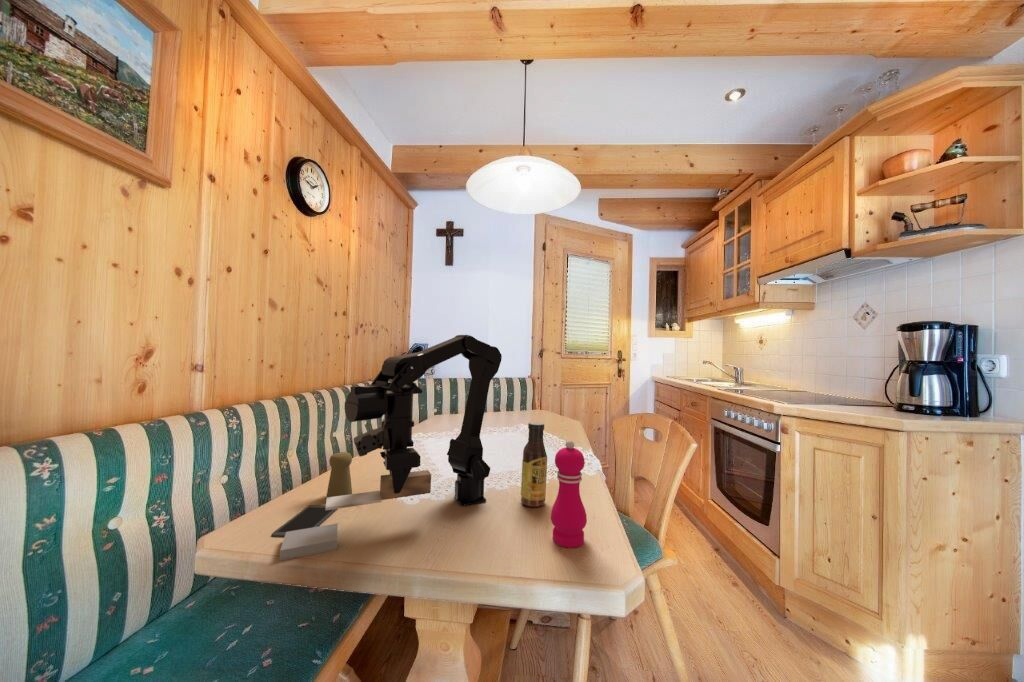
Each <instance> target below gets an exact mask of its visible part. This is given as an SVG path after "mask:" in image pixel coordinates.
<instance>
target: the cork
mask: <svg viewBox="0 0 1024 682" xmlns="http://www.w3.org/2000/svg"><path fill="white" fill-rule="evenodd" d="M352 461H353V457H352V454H351V453H350V452H347V451H340V452H336V453H332V455H330V457H329V461H328V463H329V467H330V475H329V480H328V486H327V490H326V491H327V492H326V498H325V500H326V499H327V497H335V496H342V495H350V494H353V487H352V478H351V468H350V467H351V464H352Z"/></svg>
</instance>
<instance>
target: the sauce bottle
mask: <svg viewBox="0 0 1024 682" xmlns="http://www.w3.org/2000/svg"><path fill="white" fill-rule="evenodd" d="M527 426H528V427H527V428H528V438H527V443H526V445H524V448H523V451H522V453H523V454H522V461H521V462H522V463H521V481H520V482H521V485H520V496H521V498H520V501H521V504H523V505H524V506H526V507H532V508H537V507H542V506H543V505H544V504H545V502H546V496H547V494H546V493H547V475H548V474H547V472H548V471H547V469H548V455H547V451H546V448H545V442H544V430H545V424H544V422H539V421H531V422H528V425H527Z"/></svg>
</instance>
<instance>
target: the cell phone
mask: <svg viewBox="0 0 1024 682" xmlns="http://www.w3.org/2000/svg"><path fill="white" fill-rule="evenodd" d="M325 509H326V504H311V505H307V506H306V507H304V508H303V509H302V510H301V511H300V512H298V513H297V514H296V515H294V516H293V517H291V518H290V519H289V520H288V521H286V522H285V523H284V524H282V525H281V526H280V527H278V528H277V529H276V530H274V531H273V532H272V533H271V537H272V538H284V537H285V534H286V532H289V531H295V530H301V529H307V528H313V527H319V526H322V524H324V523H325V522H326V521H327V520H328V519H329V518H331V516H332V515H334V513H335V512H336V511H338V509H332V510H325Z"/></svg>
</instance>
